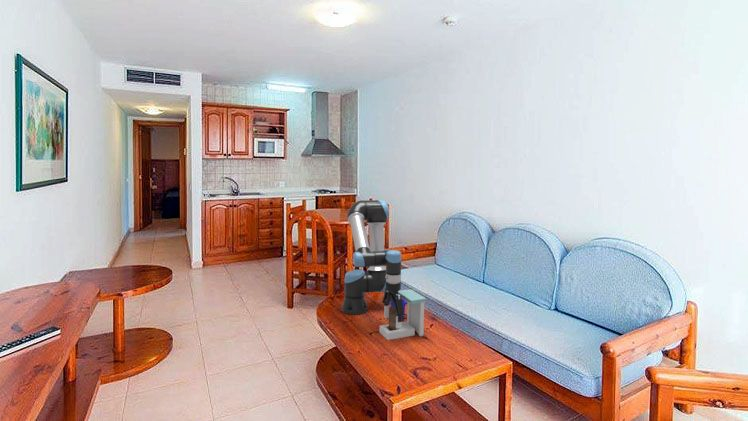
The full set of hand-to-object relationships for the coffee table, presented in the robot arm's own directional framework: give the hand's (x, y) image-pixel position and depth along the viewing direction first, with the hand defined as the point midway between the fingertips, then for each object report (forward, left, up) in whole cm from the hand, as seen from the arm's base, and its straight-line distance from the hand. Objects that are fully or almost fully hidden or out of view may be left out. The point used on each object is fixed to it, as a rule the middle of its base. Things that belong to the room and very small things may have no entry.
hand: (392, 322), depth 201 cm
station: (0, +5, -6) cm, 8 cm away
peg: (0, 0, -6) cm, 6 cm away
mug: (-18, +14, -7) cm, 24 cm away
